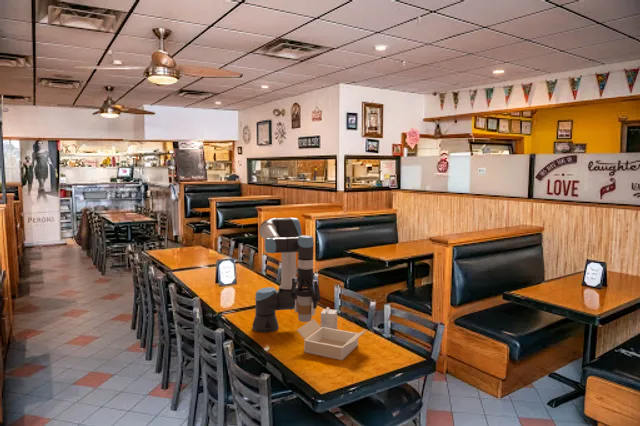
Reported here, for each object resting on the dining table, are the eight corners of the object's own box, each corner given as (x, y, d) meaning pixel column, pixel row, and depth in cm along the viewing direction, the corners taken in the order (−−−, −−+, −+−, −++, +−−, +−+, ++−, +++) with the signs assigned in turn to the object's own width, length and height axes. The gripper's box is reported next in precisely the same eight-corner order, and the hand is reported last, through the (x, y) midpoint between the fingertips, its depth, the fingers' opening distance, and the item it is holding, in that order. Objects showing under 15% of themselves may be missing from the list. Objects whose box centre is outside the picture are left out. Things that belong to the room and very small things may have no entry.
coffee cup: (296, 317, 226) (296, 287, 224) (312, 316, 227) (313, 287, 225) (296, 322, 218) (296, 292, 216) (313, 322, 218) (314, 292, 217)
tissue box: (334, 334, 258) (335, 311, 256) (320, 333, 259) (320, 310, 258) (337, 329, 266) (337, 306, 265) (323, 327, 268) (323, 305, 266)
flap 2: (353, 341, 220) (354, 342, 220) (367, 328, 238) (367, 329, 238) (343, 346, 223) (344, 347, 223) (357, 333, 240) (358, 334, 240)
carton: (303, 352, 232) (303, 340, 231) (322, 338, 251) (322, 326, 251) (342, 360, 222) (342, 348, 222) (358, 345, 242) (358, 333, 242)
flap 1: (313, 318, 251) (313, 319, 251) (296, 329, 234) (296, 330, 234) (321, 327, 250) (320, 327, 250) (305, 338, 232) (304, 339, 232)
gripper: (282, 266, 221) (282, 312, 223) (321, 271, 212) (321, 318, 214) (290, 263, 227) (290, 307, 230) (328, 268, 218) (327, 314, 221)
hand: (305, 313), depth 222 cm, fingers closed on coffee cup, 8 cm apart
